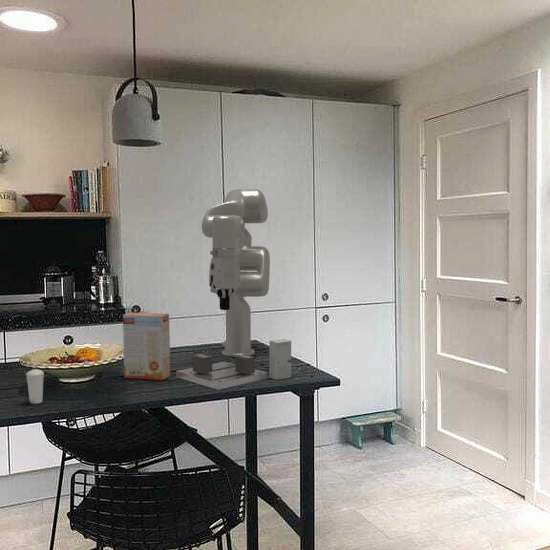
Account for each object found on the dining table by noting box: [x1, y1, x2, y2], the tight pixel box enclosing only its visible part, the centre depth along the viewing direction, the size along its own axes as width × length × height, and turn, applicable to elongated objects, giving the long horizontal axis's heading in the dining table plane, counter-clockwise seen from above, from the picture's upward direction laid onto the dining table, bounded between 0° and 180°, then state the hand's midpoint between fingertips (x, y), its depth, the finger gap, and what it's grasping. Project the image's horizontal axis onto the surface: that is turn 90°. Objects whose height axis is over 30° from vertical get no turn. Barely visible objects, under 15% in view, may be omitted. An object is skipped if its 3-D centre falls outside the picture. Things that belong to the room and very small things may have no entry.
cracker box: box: [122, 312, 171, 381], centre depth 199 cm, size 14×6×21 cm, turn 72°
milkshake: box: [24, 368, 45, 405], centre depth 171 cm, size 4×5×10 cm
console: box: [175, 361, 268, 391], centre depth 199 cm, size 22×20×2 cm
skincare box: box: [268, 338, 292, 381], centre depth 198 cm, size 6×4×12 cm
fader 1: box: [192, 353, 213, 374], centre depth 197 cm, size 5×4×5 cm
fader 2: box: [234, 355, 256, 374], centre depth 196 cm, size 5×4×5 cm
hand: (224, 309), depth 202 cm, fingers closed
